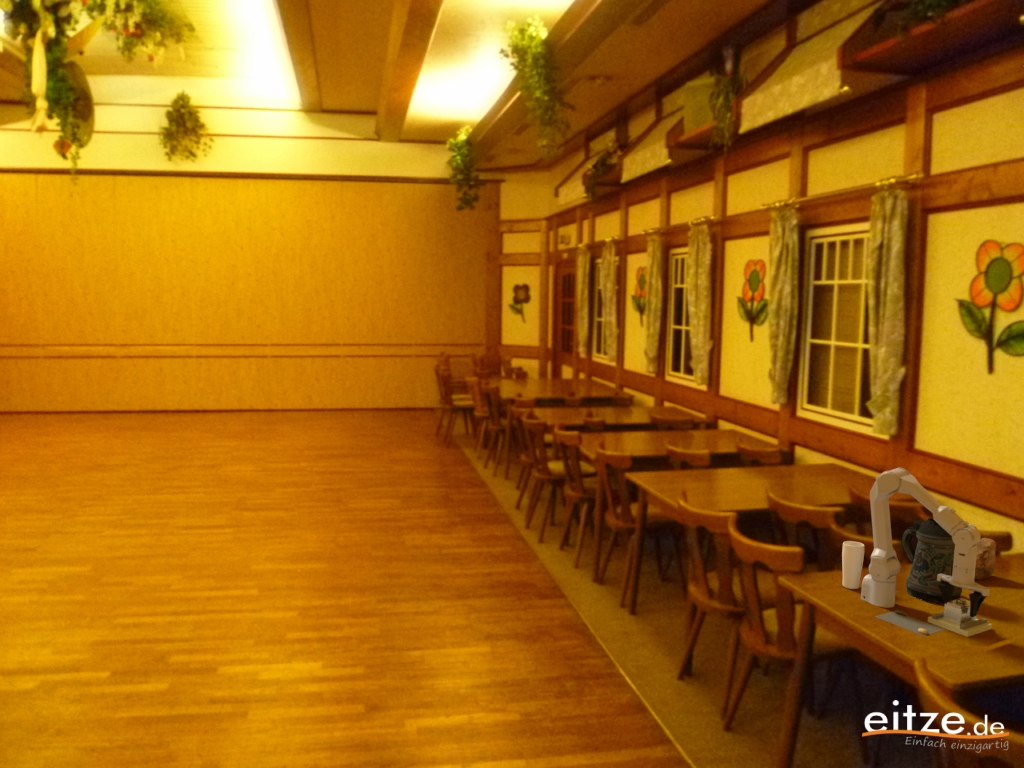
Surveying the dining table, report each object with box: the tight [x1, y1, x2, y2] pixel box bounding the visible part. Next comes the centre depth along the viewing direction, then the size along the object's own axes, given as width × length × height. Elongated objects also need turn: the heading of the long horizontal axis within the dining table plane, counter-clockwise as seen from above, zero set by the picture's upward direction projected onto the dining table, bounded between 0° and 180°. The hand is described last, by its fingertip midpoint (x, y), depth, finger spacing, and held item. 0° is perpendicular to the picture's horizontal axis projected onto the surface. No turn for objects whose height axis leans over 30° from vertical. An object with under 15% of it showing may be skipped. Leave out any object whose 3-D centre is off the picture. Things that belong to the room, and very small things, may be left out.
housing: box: [943, 597, 977, 626], centre depth 238 cm, size 8×5×6 cm, turn 120°
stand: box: [927, 611, 993, 638], centre depth 238 cm, size 12×12×4 cm
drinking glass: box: [841, 540, 865, 590], centre depth 271 cm, size 7×7×15 cm
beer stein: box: [902, 517, 963, 605], centre depth 265 cm, size 16×19×25 cm
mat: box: [874, 609, 945, 637], centre depth 239 cm, size 16×10×2 cm, turn 30°
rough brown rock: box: [974, 537, 997, 581], centre depth 286 cm, size 23×17×15 cm
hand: (960, 611), depth 238 cm, fingers open, 7 cm apart
